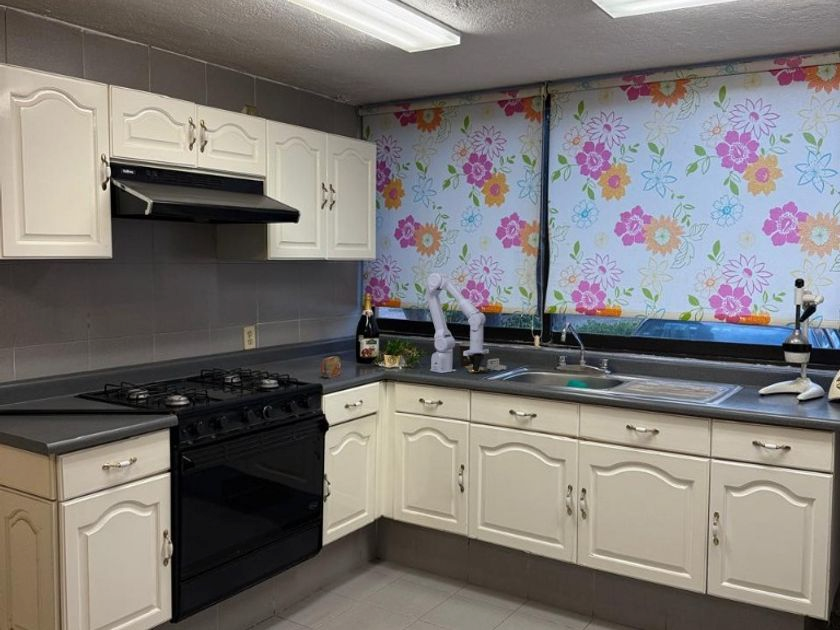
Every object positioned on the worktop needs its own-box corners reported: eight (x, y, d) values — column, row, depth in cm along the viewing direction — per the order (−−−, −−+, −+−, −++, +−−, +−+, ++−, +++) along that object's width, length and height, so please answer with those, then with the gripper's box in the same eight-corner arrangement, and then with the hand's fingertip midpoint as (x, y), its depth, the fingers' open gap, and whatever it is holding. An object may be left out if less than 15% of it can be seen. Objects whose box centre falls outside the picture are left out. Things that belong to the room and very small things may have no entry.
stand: (494, 370, 343) (495, 360, 343) (486, 369, 347) (486, 359, 346) (506, 369, 349) (506, 359, 348) (497, 367, 352) (498, 358, 352)
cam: (464, 371, 339) (464, 364, 339) (473, 370, 343) (474, 363, 343) (483, 374, 331) (483, 367, 331) (492, 373, 335) (492, 366, 335)
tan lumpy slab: (326, 379, 312) (327, 359, 311) (319, 379, 313) (320, 358, 312) (342, 374, 326) (342, 355, 326) (335, 373, 327) (335, 354, 327)
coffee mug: (456, 366, 354) (457, 345, 353) (461, 364, 362) (461, 343, 361) (481, 368, 351) (481, 346, 350) (484, 365, 359) (485, 344, 358)
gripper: (472, 342, 324) (471, 373, 325) (494, 339, 334) (493, 370, 335) (460, 340, 329) (459, 371, 330) (482, 338, 339) (481, 368, 340)
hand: (475, 370), depth 333 cm, fingers closed
